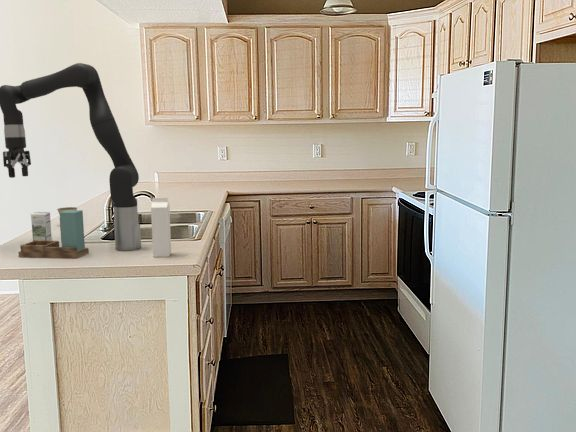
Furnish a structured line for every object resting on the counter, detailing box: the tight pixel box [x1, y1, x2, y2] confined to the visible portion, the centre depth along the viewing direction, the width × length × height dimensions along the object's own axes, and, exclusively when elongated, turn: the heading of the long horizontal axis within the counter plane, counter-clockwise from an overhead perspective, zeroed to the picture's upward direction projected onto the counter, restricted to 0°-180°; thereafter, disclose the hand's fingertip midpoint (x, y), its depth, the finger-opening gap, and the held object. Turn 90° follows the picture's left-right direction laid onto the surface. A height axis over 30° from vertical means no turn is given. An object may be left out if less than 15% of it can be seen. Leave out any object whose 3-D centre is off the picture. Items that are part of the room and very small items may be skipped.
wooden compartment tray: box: [18, 240, 90, 260], centre depth 220 cm, size 23×10×4 cm, turn 83°
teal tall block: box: [59, 209, 86, 252], centre depth 218 cm, size 7×6×15 cm
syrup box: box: [30, 211, 53, 241], centre depth 233 cm, size 6×6×14 cm
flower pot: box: [56, 206, 78, 216], centre depth 285 cm, size 9×9×9 cm
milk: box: [150, 197, 172, 258], centre depth 218 cm, size 6×6×22 cm
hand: (18, 176), depth 232 cm, fingers open, 8 cm apart
